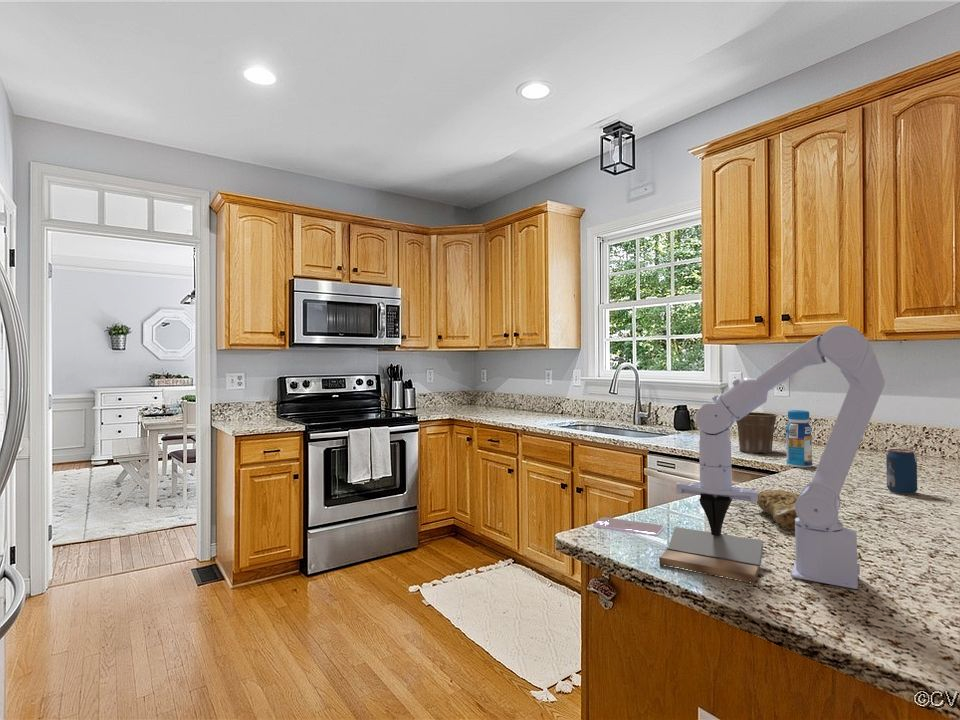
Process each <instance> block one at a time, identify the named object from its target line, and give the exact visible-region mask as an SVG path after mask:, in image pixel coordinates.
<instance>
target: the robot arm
mask: <svg viewBox="0 0 960 720" xmlns="http://www.w3.org/2000/svg"><path fill="white" fill-rule="evenodd" d="M875 353H876V352H875V350H874V348H873V345H872V344H871V342H870V341H869V340H868V339H867V338H866V336H864V334H863V333H862V332H861V331H860V330H859V329H857V328H855V327H853V326H850V325H845V324H842V325H836V326H835V325H834V326H832V327H831V328H829V329H827V330H826V331H825V332H824V333H822V335H817V336H815V337H812V338H811V339H810V340H808V341H805V342H804V343H802V344H801V345H799V346H798V347H796V348H795V349H794V350H792V351H791V352H789V353H788V354H787V355H785V356H784V357H783V358H782V359H780V360H779V361H778V362H776V363H775V364H774V365H772V366H771V367H769V368H768V369H767V370H766V371H765V372H762V374H760V375H759V376H758V377H756V378H753V377H743V378H742V379H740V378H738V379H735V380H733V381H732V382H731V384H732V386H731V387H730V388H728V389H727V390H725V391H724V392H723V393H721V394H720V395H717V394H716V395H714V396H713V397H712V401H713V402H712V403H711V402H710V403H709V402H708V403H705V404H703V405H702V406H701V407H700V408H699V409H698V410H697V412H696V415H695V422H696V425H697V427H698V428H699V440H698V441H699V442H698V443H699V444H698V445H699V446H698V447H699V448H698V449H699V451H698V452H699V482H698V483H697V482H683V481H678V482H676V484H675V485H676V486H675V489H676V492H675V493H676V494H680V495H681V494H686V495H695V496H696V495H697V496H700V497H699V499H698V500H699V504H700V506H701V507H702V509H703V511H704V514H705V515H706V518H707V521H708V524H709V528H710V532H711V534H712V535H715V536H720V534H722V529H723V525H724V524H723V523H724V520H725V516H726V514H727V512H728V510H729V507H730V505H731V504H732V501H733V500H735V501H744V502H745V501H747V502H750V503H753V504H755V503H756V504H757V501H758V493H759V491H758V490H755V489H750V488H749V489H748V488H742V487H737V486H733V485H732V483H733V482H732V480H733V479H732V477H733V475H732V442H731V427H732V426H733V424H734V422H736V421H738V420H740V419H741V418H743V417H744V416H746V415H747V414H749V413H750V412H753V411H755V410H756V409H758V408H759V407H760V406H763V405H764V404H765V403H767V401H768V394H769V392H770V391H771V390H772V389H774V388H775V387H777V386H778V385H780V384H782V383H784V382H785V381H786V380H788V379H790V378H791V377H793V376H794V375H796V374H797V373H799V372H800V371H802V370H803V369H805V368H807V367H809V366H814V365H820V364H826V363H827V360H828V361H830V362H831V363H832V364H833V365H835V366H836V367H837V368H839V371H840V372H841V374H842V376H843V377H844V378H845V380H846V381H847V383H848V384H849V387H848V390H847V392H846V394H845V397H844V400H843V402H842V404H841V407H840V409H839V412H838V415H837V417H836V419H835V422H834V425H833V427H832V429H831V433H830V434H829V437H828V440H827V441H826V445H825V447H824V449H823V452H822V455H821V456H820V460H819V461H818V464H817V467H816V469H815V471H814V474H813V476H812V479H811V481H810V483H808V484H806V485H805V486H804V487H803V488H802V489H801V491H800V494H799V495H800V496H799V497H798V499H797V500H796V503H795V512H796V514H797V516H798V517H797V518H796V519H795V529H794V537H795V538H794V539H795V541H794V544H795V561H794V564H793V568H792V570H791V571H792V572H791V577H792V578H795V579H801V580H805V581H811V582H816V583H822V584H826V585H827V584H828V585H833V586H837V587H843V588H849V589H853V590H858V588H859V587H858V586H859V583H858V579H859V578H858V577H859V576H860V574H861V571H860V570H861V567H860V563H858V541H857V540H858V536H857V535H858V532H857V530H855V529H850V528H846V527H844V523H843V522H841V521H840V519H839V518H838V517H839V510H840V508H841V497H840V494H841V491H842V490H843V486H844V484H845V481H846V479H847V476H848V474H849V473H850V472H849V471H850V469H851V467H852V464H853V462H854V459H855V457H856V455H857V452H858V450H859V447H860V446H861V443H862V440H863V437H864V435H865V433H866V430H867V428H868V426H869V423H870V420H871V418H872V416H873V413H874V411H875V410H876V407H877V405H878V403H879V402H878V401H879V399H880V398H881V394H882V392H883V389H884V387H885V378H884V374H883V372H882V370H881V369H882V368H881V367H880V364H879V361H878V359H877V356H876V354H875ZM826 359H827V360H826ZM858 575H859V576H858Z"/></svg>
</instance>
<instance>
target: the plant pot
mask: <svg viewBox="0 0 960 720" xmlns="http://www.w3.org/2000/svg"><path fill="white" fill-rule="evenodd" d="M777 417H778V414H777V413H771V412H770V413H768V412H756V411H755V412H753V411H752V412H750V413H749V414H747V415H746V416H744V417H743V418H741V419H740V420H738V421H735V422H736V424H737V426H736V427H737V436H738V444H739V451H741V452H744V453H749V454H759V453H761V454H771V453H772V452H773V443H774V432H775V425H776V422H777V421H776V420H777Z"/></svg>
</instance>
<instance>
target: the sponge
mask: <svg viewBox="0 0 960 720" xmlns="http://www.w3.org/2000/svg"><path fill="white" fill-rule="evenodd" d="M799 496H800V494H799V493H795V492H793V491H788V490H783V489H781V490H780V489H773V490H762V491H760V492H759V491H758V501H757V503H756V504H757V506H759V507H758V508H760V509H761V510H762V511H764V512H765V513H767V514H768V515H771V516H772V517H773V519H774V521H775V522H776V523H777V524H779V525H780V526H781V527H783V528H785V529H789V530H792V531H793V530H794V531H795V519H796V518H797V517H798V516H797V514H796V512H795V503H796V500H797V499H798V497H799Z"/></svg>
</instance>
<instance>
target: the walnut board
mask: <svg viewBox="0 0 960 720" xmlns="http://www.w3.org/2000/svg"><path fill="white" fill-rule="evenodd" d="M658 561H659V563H658V564H660V565H659V566H661V565H666V566H673V567H679V568H684V569H688V570H692V571H696V572H701V573H706V574H711V575H717V576H723V577H728V578H732V579H737V580H741V581H746V582H751V583H755V584H756V582H757V579H758V577H759V575H758V573H759V574H760V570H759V564H756V563H750V562H745V561H739V560H734V559H728V558H722V557H717V556H711V555H706V554H700V553H694V552H689V551H683V550H678V549H672V548H668V547H666V549H665V551H664V552H663V553H662V554H661V555H659V560H658ZM666 566H665V567H666ZM696 572H695V573H696ZM701 573H700V574H701ZM706 574H705V575H706ZM711 575H710V576H711ZM757 576H758V577H757ZM756 578H757V579H756ZM741 581H740V582H741ZM755 581H756V582H755ZM746 582H745V583H746ZM751 583H750V584H751Z"/></svg>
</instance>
